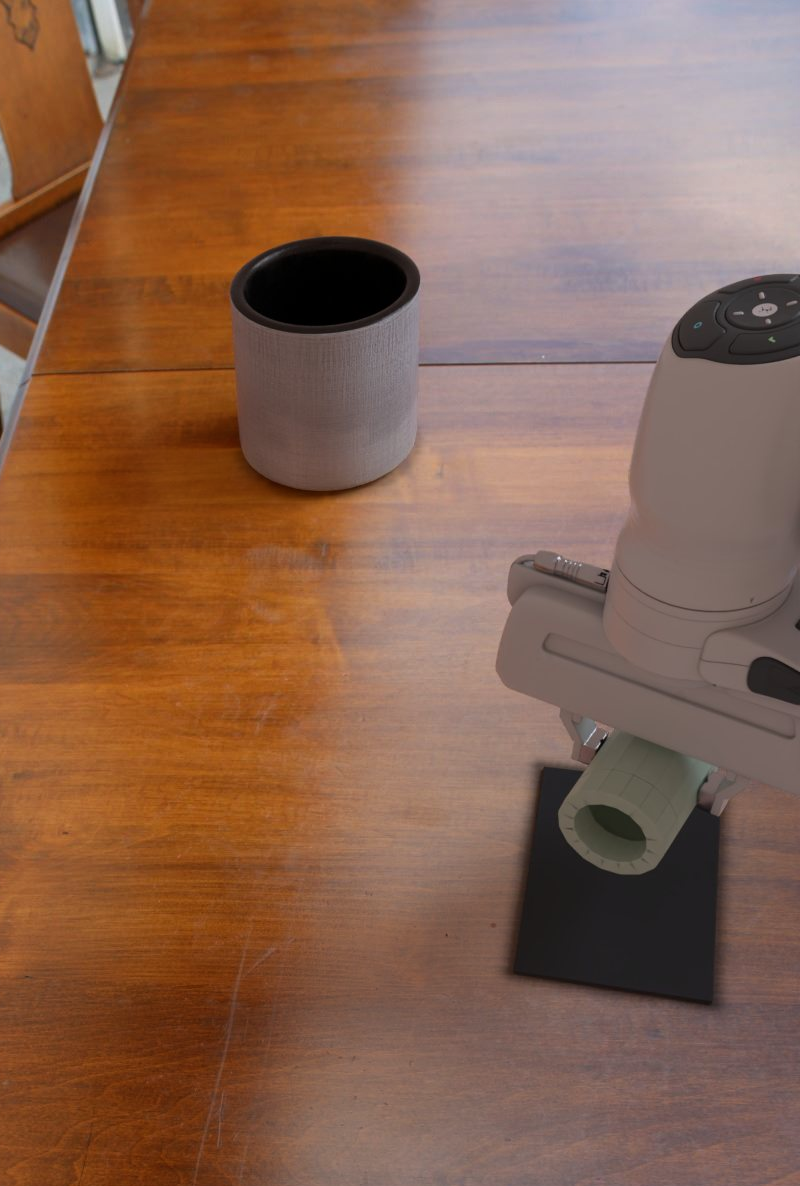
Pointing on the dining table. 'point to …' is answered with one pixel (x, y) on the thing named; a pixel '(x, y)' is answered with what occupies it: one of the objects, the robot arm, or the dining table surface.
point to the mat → (620, 910)
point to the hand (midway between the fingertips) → (648, 781)
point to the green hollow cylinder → (631, 803)
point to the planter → (327, 361)
